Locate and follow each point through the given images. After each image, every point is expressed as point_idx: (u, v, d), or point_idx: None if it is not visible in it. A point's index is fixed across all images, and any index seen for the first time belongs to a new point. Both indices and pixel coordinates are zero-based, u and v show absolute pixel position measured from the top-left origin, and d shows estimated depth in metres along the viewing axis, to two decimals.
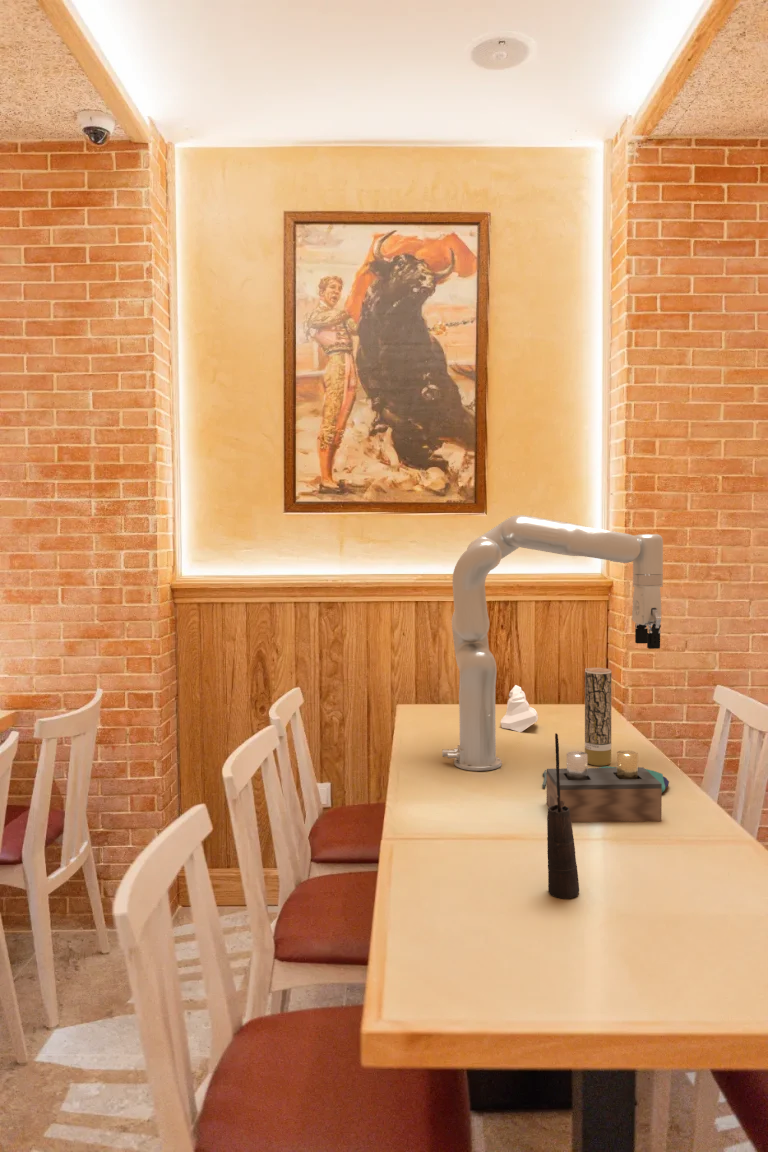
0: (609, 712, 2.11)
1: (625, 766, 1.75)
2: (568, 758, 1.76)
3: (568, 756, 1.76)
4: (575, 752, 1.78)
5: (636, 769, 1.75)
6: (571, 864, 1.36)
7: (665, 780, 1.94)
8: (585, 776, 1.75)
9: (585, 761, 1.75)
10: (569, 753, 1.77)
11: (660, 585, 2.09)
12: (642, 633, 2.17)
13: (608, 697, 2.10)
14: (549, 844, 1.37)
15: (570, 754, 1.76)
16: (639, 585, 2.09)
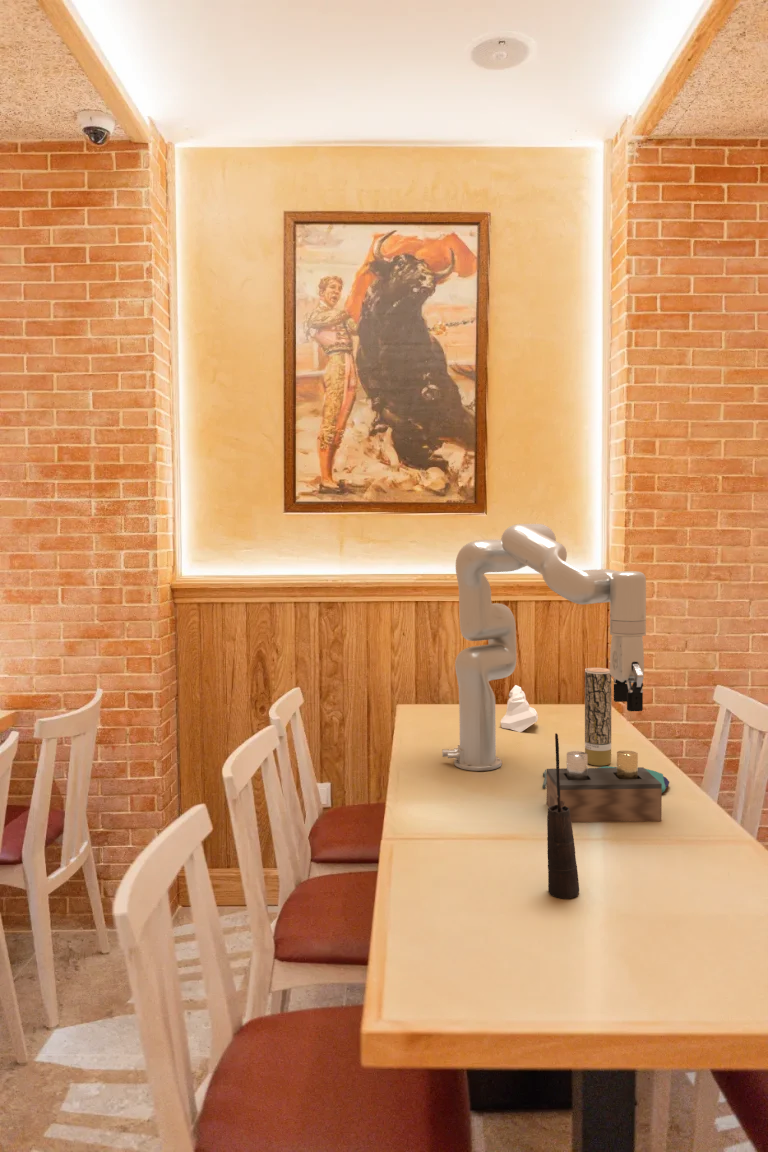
0: (609, 712, 2.11)
1: (625, 766, 1.75)
2: (568, 758, 1.76)
3: (568, 756, 1.76)
4: (575, 752, 1.78)
5: (636, 769, 1.75)
6: (571, 864, 1.36)
7: (665, 780, 1.94)
8: (585, 776, 1.75)
9: (585, 761, 1.75)
10: (569, 753, 1.77)
11: (643, 634, 1.72)
12: (622, 689, 1.80)
13: (608, 697, 2.10)
14: (549, 844, 1.37)
15: (570, 754, 1.76)
16: (618, 633, 1.73)
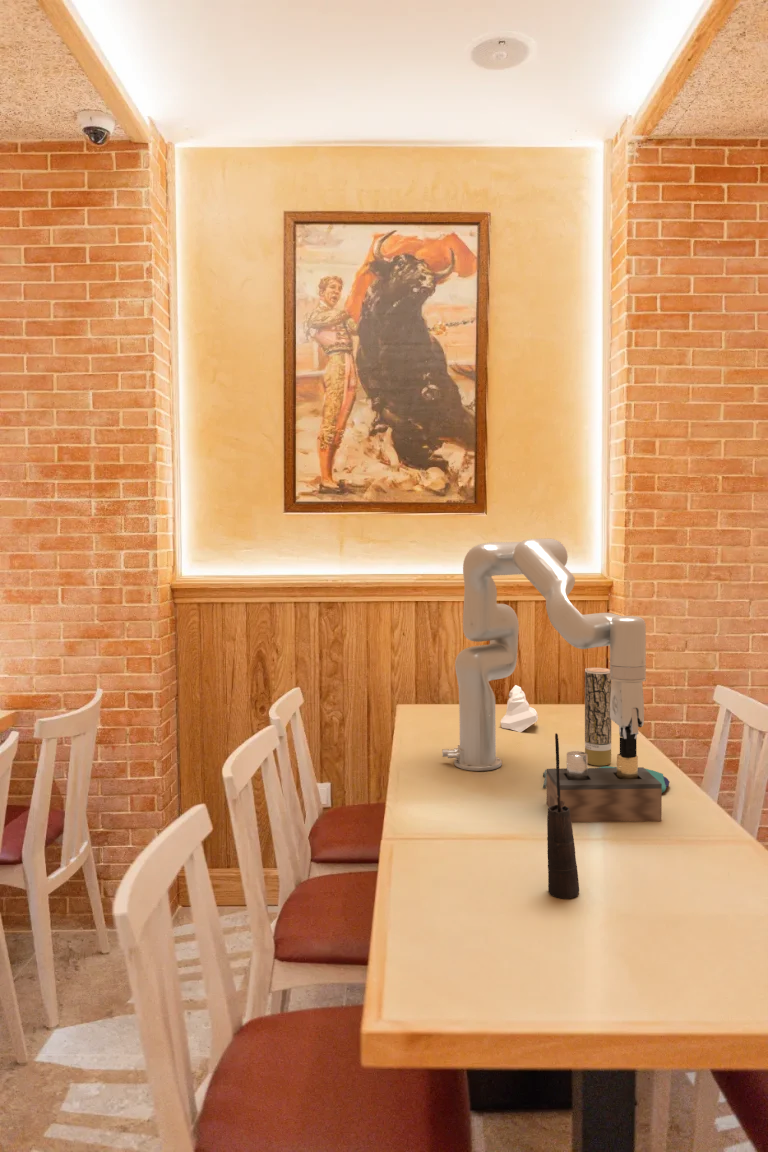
0: (609, 712, 2.11)
1: (625, 768, 1.75)
2: (568, 758, 1.76)
3: (568, 756, 1.76)
4: (575, 752, 1.78)
5: (636, 772, 1.75)
6: (571, 865, 1.36)
7: (665, 780, 1.95)
8: (585, 776, 1.75)
9: (585, 761, 1.75)
10: (569, 753, 1.77)
11: (642, 679, 1.73)
12: None
13: (608, 697, 2.10)
14: (549, 844, 1.37)
15: (570, 754, 1.76)
16: (617, 679, 1.73)
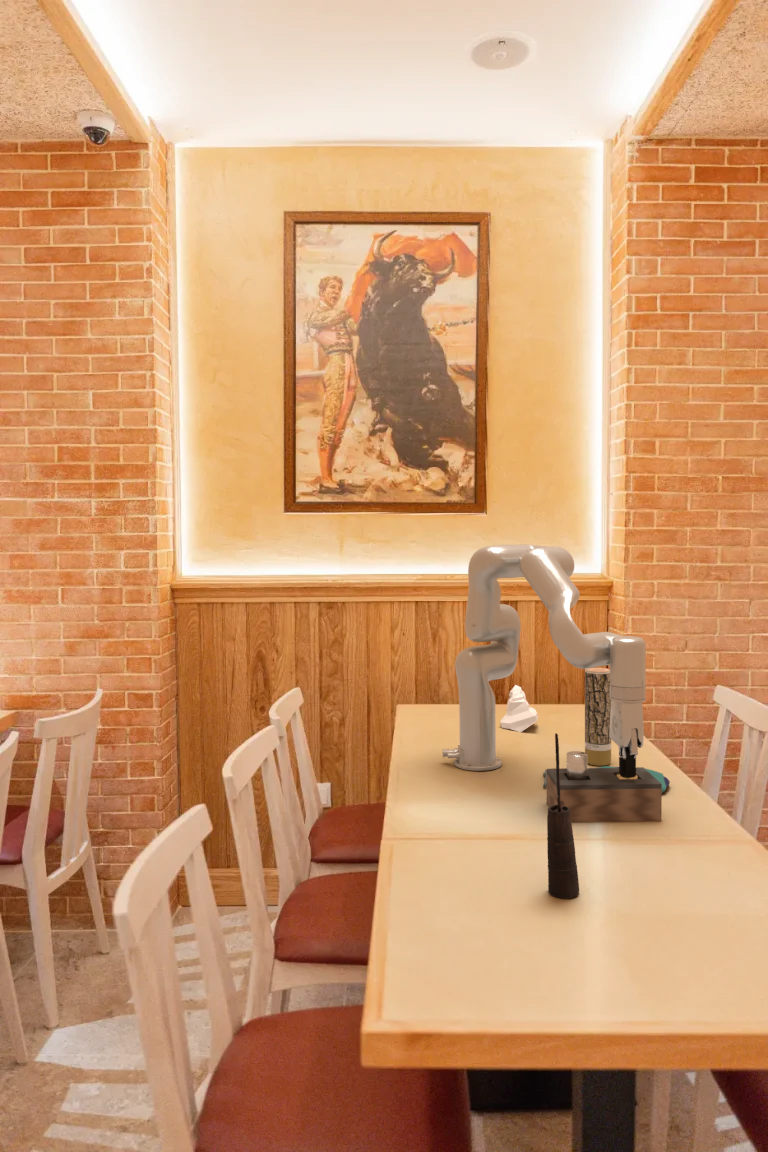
0: (609, 712, 2.11)
1: None
2: (568, 758, 1.76)
3: (568, 756, 1.76)
4: (575, 752, 1.78)
5: None
6: (571, 865, 1.36)
7: (666, 780, 1.95)
8: (585, 776, 1.75)
9: (585, 761, 1.75)
10: (569, 753, 1.77)
11: (642, 700, 1.73)
12: None
13: (608, 697, 2.10)
14: (549, 844, 1.37)
15: (570, 754, 1.76)
16: (617, 699, 1.73)
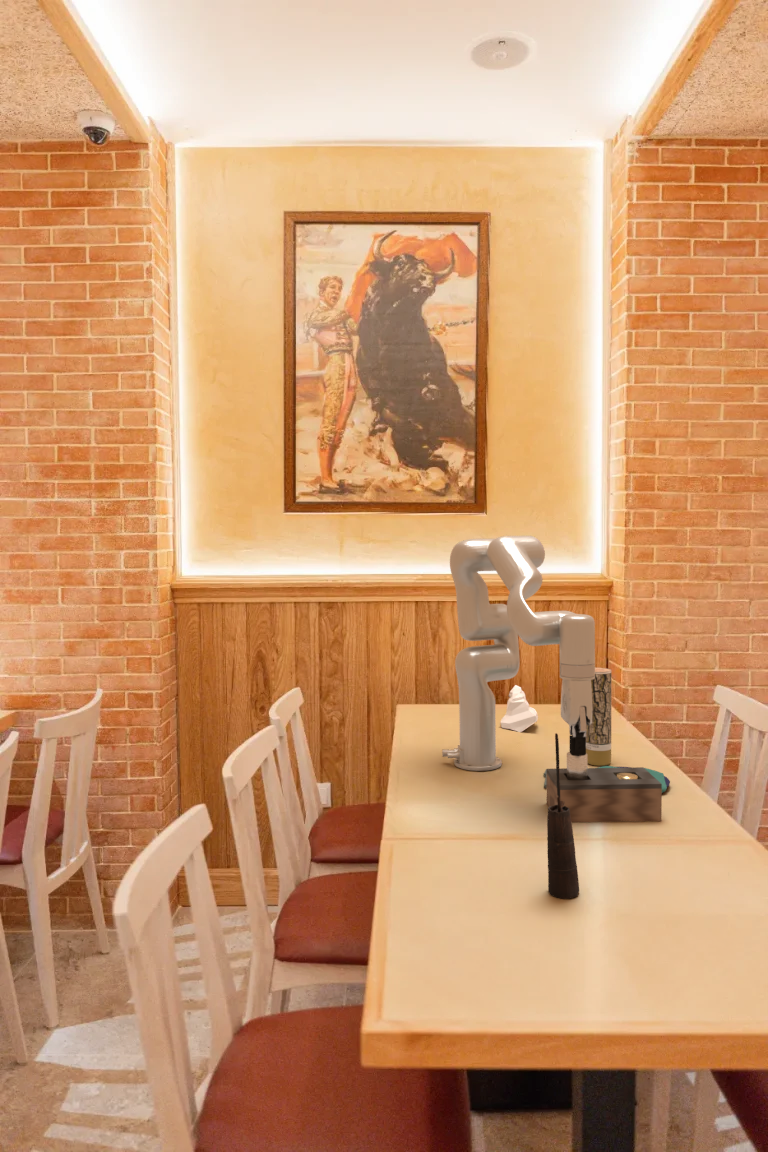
0: (609, 712, 2.11)
1: None
2: (568, 758, 1.76)
3: (568, 756, 1.76)
4: None
5: None
6: (571, 865, 1.36)
7: (666, 780, 1.95)
8: (585, 776, 1.75)
9: (585, 761, 1.75)
10: (569, 753, 1.77)
11: (591, 677, 1.73)
12: None
13: (608, 697, 2.10)
14: (549, 844, 1.37)
15: (570, 754, 1.76)
16: (566, 677, 1.73)
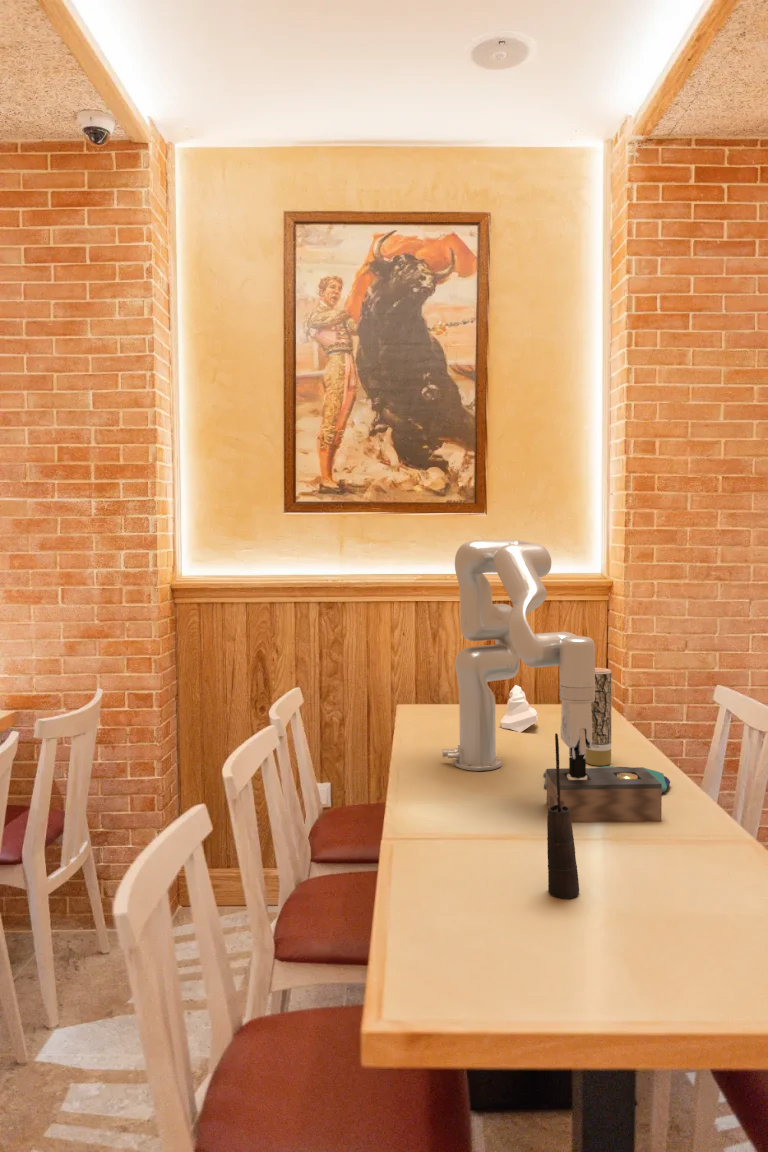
0: (609, 712, 2.11)
1: None
2: None
3: (568, 778, 1.76)
4: None
5: None
6: (571, 865, 1.36)
7: (666, 780, 1.95)
8: None
9: None
10: (569, 775, 1.77)
11: (591, 700, 1.73)
12: None
13: (608, 697, 2.10)
14: (549, 844, 1.37)
15: (570, 776, 1.77)
16: (566, 699, 1.73)
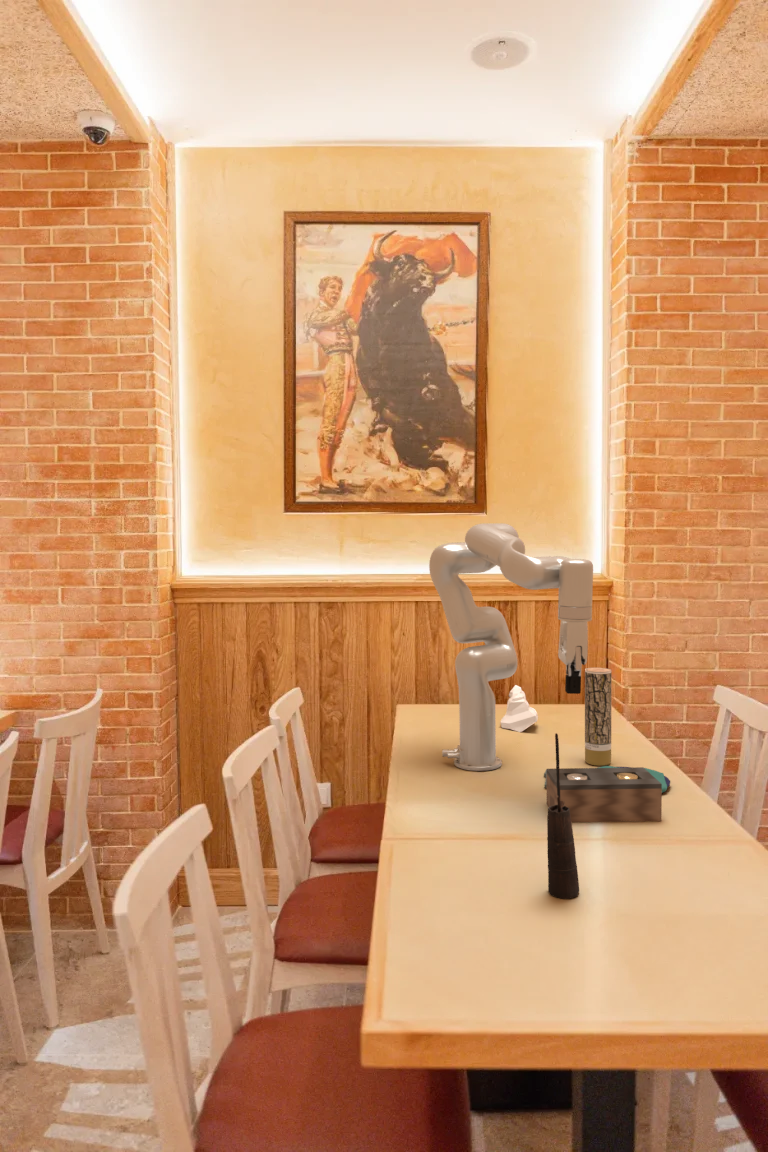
0: (609, 712, 2.11)
1: None
2: None
3: (568, 779, 1.76)
4: (575, 774, 1.78)
5: None
6: (571, 865, 1.36)
7: (666, 779, 1.95)
8: None
9: None
10: (569, 776, 1.77)
11: (588, 619, 1.80)
12: None
13: (608, 697, 2.10)
14: (549, 844, 1.37)
15: (570, 776, 1.77)
16: (564, 618, 1.81)
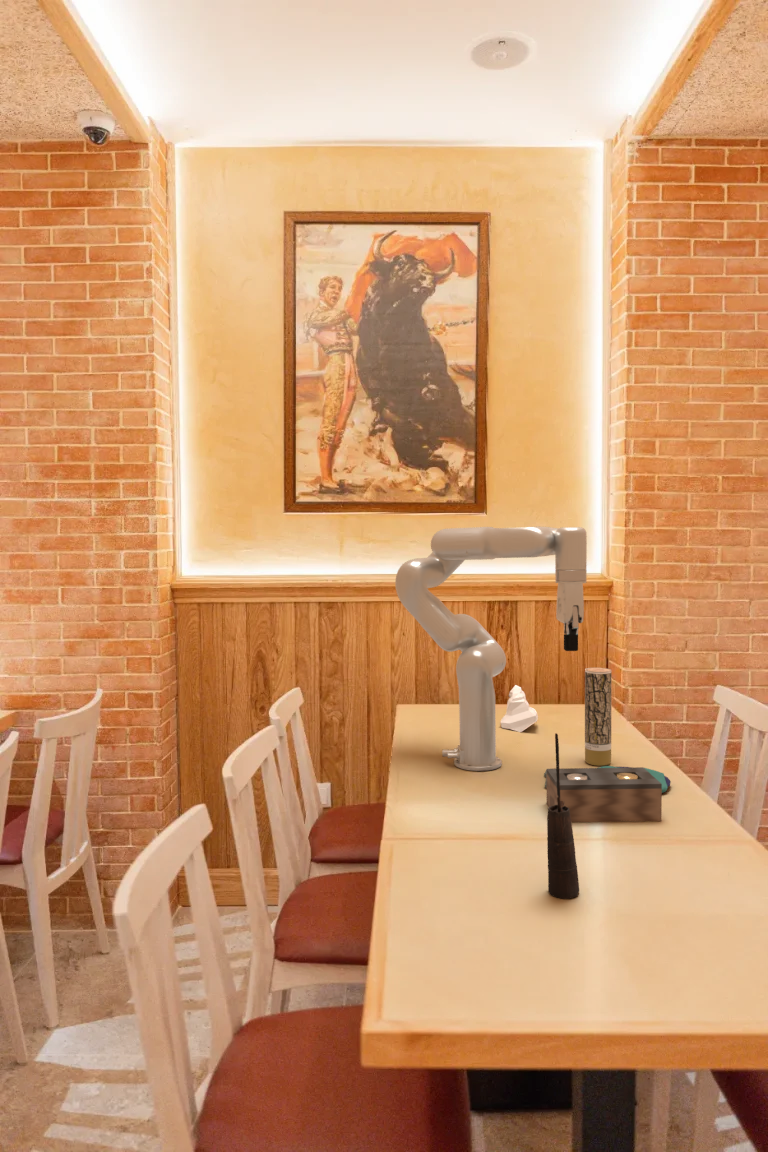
0: (609, 712, 2.11)
1: None
2: None
3: (568, 779, 1.76)
4: (575, 774, 1.78)
5: None
6: (571, 865, 1.36)
7: (666, 779, 1.95)
8: None
9: None
10: (569, 776, 1.77)
11: (583, 581, 1.97)
12: None
13: (608, 697, 2.10)
14: (549, 844, 1.37)
15: (570, 776, 1.77)
16: (561, 581, 1.97)
